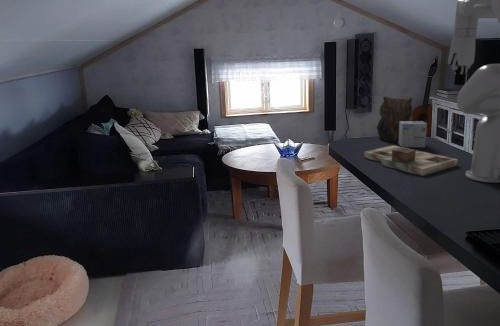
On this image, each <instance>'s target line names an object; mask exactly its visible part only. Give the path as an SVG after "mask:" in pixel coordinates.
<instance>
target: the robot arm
mask: <svg viewBox="0 0 500 326" xmlns="http://www.w3.org/2000/svg"><path fill="white" fill-rule="evenodd" d="M479 19H497V21H498V23H499V24H500V0H457V3H456V9H455V18H454V25H453V26H454V28H453V36H452V37H453V38H452V39H451V43H450V48H449V51H448V52H449V53H448V58H447V59H448V60H447V64H448V66H450V67H451V70H453V71H454V83H453V84H454V86H462V87H461V88H460V90H459V92H458V95H457V98H456V107H457V108H458V110H459V111H460V112H462V113H463V114H467V115H481V117H480V118H479V119H478V121H477V124H476V128H475V134H474V140H473V142H474V143H473V149H472V157H471V165H470V169H467V170H466V171H465V175H464V176H465V177H466V178H468V179H470V180H472V181H476V182H482V183H490V184H491V183H492V184H493V183H494V184H498V183H500V63H488V64H485V65H482V66H481V67H479V68H478V69H476V71H475V72H474V73H472V75H471V76H470V78H468V80H467V81H466V75H467V74H468V70H469V69H470V68H471V67H472V65H473V64H474V62H475V56H476V38H477V34H478V33H477V32H478V24H479Z"/></svg>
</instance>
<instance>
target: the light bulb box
mask: <svg viewBox="0 0 500 326" xmlns="http://www.w3.org/2000/svg"><path fill="white" fill-rule="evenodd" d="M427 127H428V123H427V122H425V121H423V120H420V121H419V120H415V121H414V120H411V121H410V120H409V121H399V137H398V142H397V145H398V144H399V145H400V146H401V147H403V148H426V140H427V129H428V128H427ZM399 145H398V146H399ZM400 146H399V147H400Z"/></svg>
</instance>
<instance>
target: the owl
mask: <svg viewBox="0 0 500 326" xmlns="http://www.w3.org/2000/svg"><path fill="white" fill-rule="evenodd" d="M382 98H383V99H382V100H383V102H382V103H381V105H380V107H379V115H380V119H379V120H378V124H377V126H376V129H377V134H378V139H379V138H380V139H379V140H382V139H385V140H384V141H386V140H389V141H393V142H392V143H394V142H397V143H398V137H399V121H410V118H411V116H412V112H413V105H412V102H413V98H412V97H404V96H383V97H382ZM389 141H388V142H389Z"/></svg>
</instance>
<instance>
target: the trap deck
mask: <svg viewBox="0 0 500 326" xmlns="http://www.w3.org/2000/svg"><path fill="white" fill-rule="evenodd" d="M398 148H401V147H400V146H399V145H393V144H392V145H388V146H384V147H379V148H375V149H371V150H367V151H363V152H364V153H363V154H364V155H363V158H364V159H368V160H372V161H375V162H379V163H380V164H381V166H384V167H387V168H392V169H395V170H398V171H402V172H406V173H410V174H414V175H418V176H422V177H425V176H427V175H430V174H434V173H437V172H440V171H444V170H447V169H450V168H454V167H457V166H458V161H459V160H458V158H453V157H449V156H446V155H445V156H444V155H441V154H435V153H431V152H426V151H421V150H417V149H415V150H416V153H415V161H412V162H409V163H407V164H405V163H401V162H396V161H391V160H392V150H394V149H398ZM402 148H404V147H402ZM406 148H407V149H409V147H406ZM411 149H412V148H411ZM412 150H414V149H412Z"/></svg>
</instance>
